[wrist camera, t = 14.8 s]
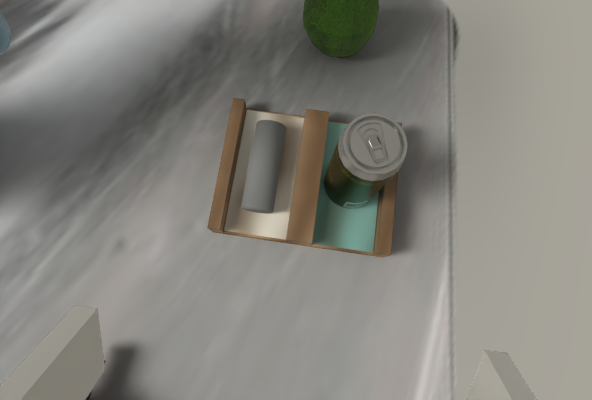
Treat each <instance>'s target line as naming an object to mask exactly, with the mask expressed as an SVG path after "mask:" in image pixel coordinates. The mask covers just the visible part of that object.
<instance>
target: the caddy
mask: <svg viewBox="0 0 592 400" xmlns="http://www.w3.org/2000/svg"><path fill="white" fill-rule="evenodd" d="M328 119H329V112H325V111H318V110H311V109H306V112H305V117H301V116H294V115H288V114H281V113H274V112H268V111H261V110H254V109H247V108H246V103H245V100H244V99H238V98H233V103H232V108H231V113H230V118H229V123H228V128H227V133H226V138H225V143H224V148H223V153H222V158H221V163H220V168H219V173H218V178H217V183H216V188H215V193H214V197H213V202H212V207H211V212H210V217H209V222H208V227H207V228H209V229H210V230H211V231H212V232H216V233H222V234H229V235H236V236H243V237H249V238H256V239H263V240H269V241H276V242H283V243H290V244H296V245H303V246H310V247H317V248H323V249H330V250H337V251H344V252H350V253H357V254H364V255H371V256H377V257H385V256H388V255H391V245H392V233H393V221H394V210H395V198H396V186H397V174H398V172H397V173H396V174H395V175H394V176H393V177H392V178H391V179H390V180H389V181H388V182H387V183H386V184H385V185H384V186H383V187H382V188H381V189H380V190H379V191H378V192H377V193H376V194H375V195H374V196H373V197H372V198H371V199H370V200H369V201H368V202H367V203H366V204H365V205H363V206H360V207H358V208H352V209H348V208H343V207H340V206H338V205H337V204H335V203H334V202H333V201H332V200H331V199H330V198H329V197H328V195H327V193H326V191H325V187H324V179H325V174H326V172H327V169H328V166H329V164H330V161H331V158H332V156H333V153H334V150H335V147H336V145H337V142H338V139H339V137H340V135H341V133H342V131H343V130H344V128H345V127H346V126H347V125H348V123H341V122H334V121H328ZM260 120H273V121H277V122H280V123H282V124H283V125H284V126H285V127H286V135H285V141H284V148H283V154H282V160H281V166H280V172H279V179H278V185H277V191H276V197H275V203H274V210H273V213H270V214H264V213H256V212H251V211H247V210H245V209H243V208H241V205H242V200H243V194H244V189H245V183H246V178H247V172H248V167H249V161H250V156H251V150H252V145H253V139H254V134H255V128H256V123H257V122H258V121H260ZM397 123H398V122H397ZM398 124H399V125H400V126H401V127H402V123H398Z"/></svg>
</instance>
